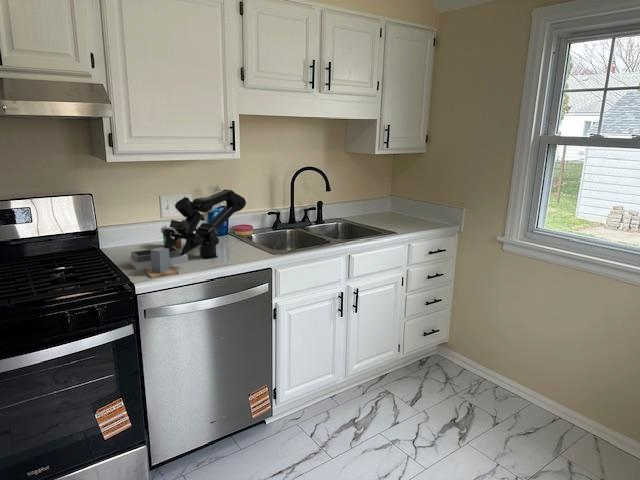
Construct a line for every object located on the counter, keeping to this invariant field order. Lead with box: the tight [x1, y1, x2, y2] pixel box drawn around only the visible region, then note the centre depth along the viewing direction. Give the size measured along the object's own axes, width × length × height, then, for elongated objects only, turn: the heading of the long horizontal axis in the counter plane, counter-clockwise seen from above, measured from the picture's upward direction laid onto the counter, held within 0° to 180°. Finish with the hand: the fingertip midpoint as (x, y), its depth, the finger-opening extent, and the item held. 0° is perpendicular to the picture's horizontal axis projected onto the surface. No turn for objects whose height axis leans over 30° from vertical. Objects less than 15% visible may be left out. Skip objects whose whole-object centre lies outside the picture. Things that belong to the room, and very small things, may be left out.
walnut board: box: [142, 265, 180, 279], centre depth 190 cm, size 11×11×1 cm
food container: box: [160, 225, 182, 250], centre depth 226 cm, size 12×6×10 cm, turn 56°
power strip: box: [130, 246, 189, 271], centre depth 202 cm, size 22×9×6 cm, turn 126°
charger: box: [151, 246, 170, 273], centre depth 189 cm, size 5×5×9 cm
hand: (173, 253), depth 194 cm, fingers open, 9 cm apart
